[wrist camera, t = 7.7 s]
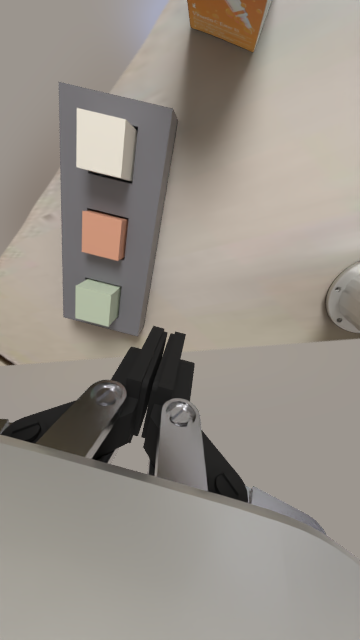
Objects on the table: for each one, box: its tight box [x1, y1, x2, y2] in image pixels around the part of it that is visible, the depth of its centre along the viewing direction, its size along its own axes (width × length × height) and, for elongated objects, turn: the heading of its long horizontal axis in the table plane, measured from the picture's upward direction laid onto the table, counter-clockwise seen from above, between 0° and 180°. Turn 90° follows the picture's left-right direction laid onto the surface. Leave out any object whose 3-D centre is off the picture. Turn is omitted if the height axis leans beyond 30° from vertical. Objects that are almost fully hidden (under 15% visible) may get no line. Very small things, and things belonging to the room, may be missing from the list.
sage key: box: [75, 278, 122, 327], centre depth 38 cm, size 6×6×5 cm
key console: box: [59, 82, 178, 336], centre depth 36 cm, size 14×32×4 cm, turn 168°
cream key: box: [76, 108, 138, 182], centre depth 29 cm, size 6×6×5 cm
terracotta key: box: [82, 210, 129, 261], centre depth 35 cm, size 6×6×5 cm
